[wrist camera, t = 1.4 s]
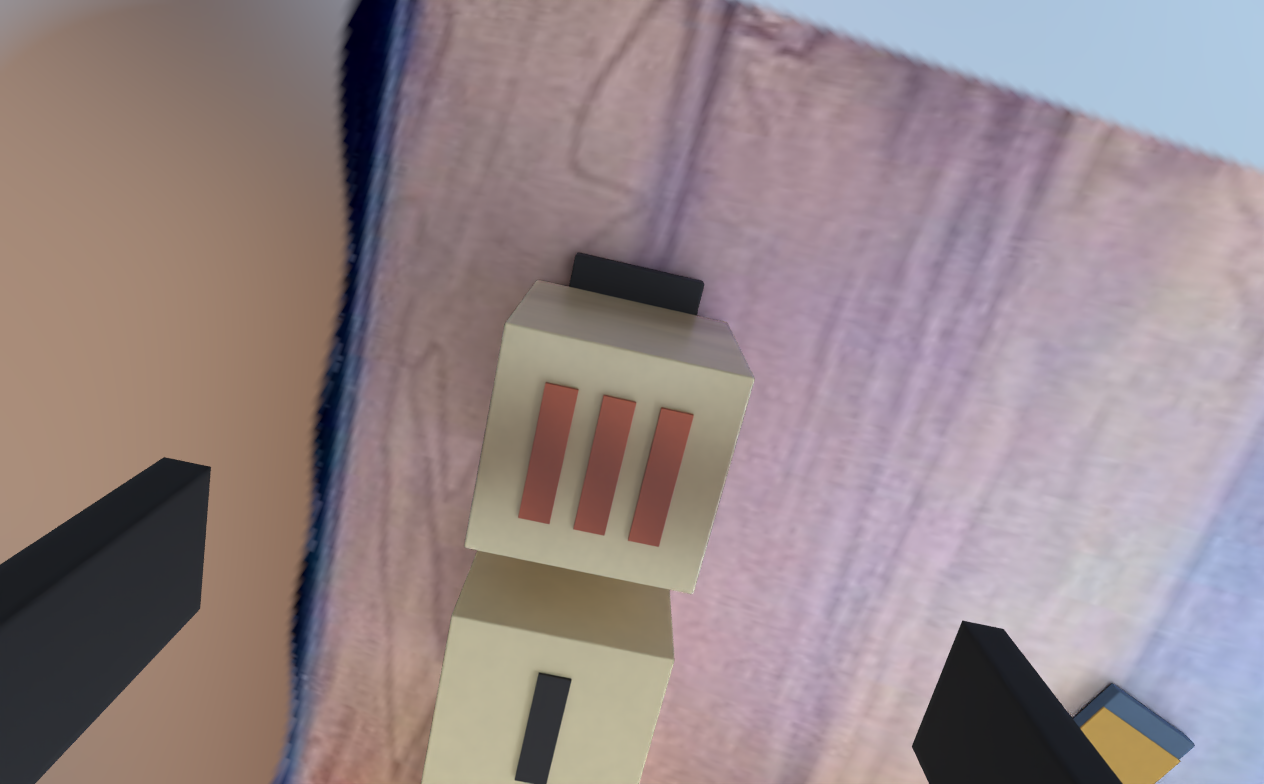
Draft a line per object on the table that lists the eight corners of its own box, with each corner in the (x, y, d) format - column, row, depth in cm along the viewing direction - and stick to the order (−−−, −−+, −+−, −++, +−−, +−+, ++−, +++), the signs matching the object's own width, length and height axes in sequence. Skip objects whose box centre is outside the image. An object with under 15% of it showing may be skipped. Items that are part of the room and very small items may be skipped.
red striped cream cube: (536, 278, 24) (503, 323, 18) (728, 322, 24) (756, 379, 19) (502, 458, 26) (462, 550, 20) (681, 495, 26) (693, 597, 20)
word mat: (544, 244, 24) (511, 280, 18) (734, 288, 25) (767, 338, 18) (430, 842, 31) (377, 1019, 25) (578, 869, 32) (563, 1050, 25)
